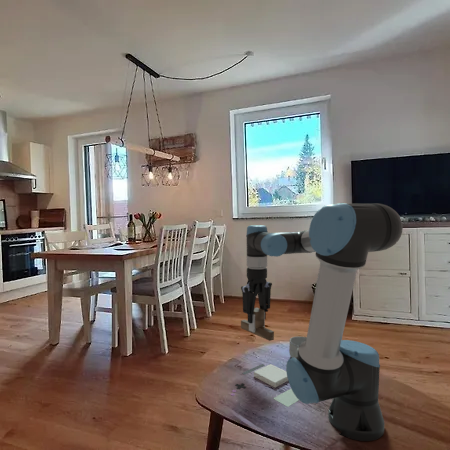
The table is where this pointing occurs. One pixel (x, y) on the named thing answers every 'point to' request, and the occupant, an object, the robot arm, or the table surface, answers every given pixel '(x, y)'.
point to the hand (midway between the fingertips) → (256, 329)
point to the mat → (253, 369)
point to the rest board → (287, 398)
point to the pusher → (259, 325)
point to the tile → (271, 375)
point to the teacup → (295, 345)
